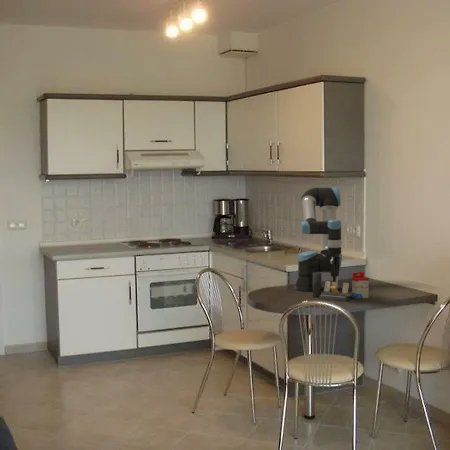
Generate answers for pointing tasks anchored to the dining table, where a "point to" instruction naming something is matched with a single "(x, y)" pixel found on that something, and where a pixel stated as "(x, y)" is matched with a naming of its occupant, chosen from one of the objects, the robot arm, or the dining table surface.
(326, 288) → the paddle left
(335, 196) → the robot arm
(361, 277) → the ink box
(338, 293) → the block
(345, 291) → the paddle right
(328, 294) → the panel
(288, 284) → the dining table surface
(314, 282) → the post
